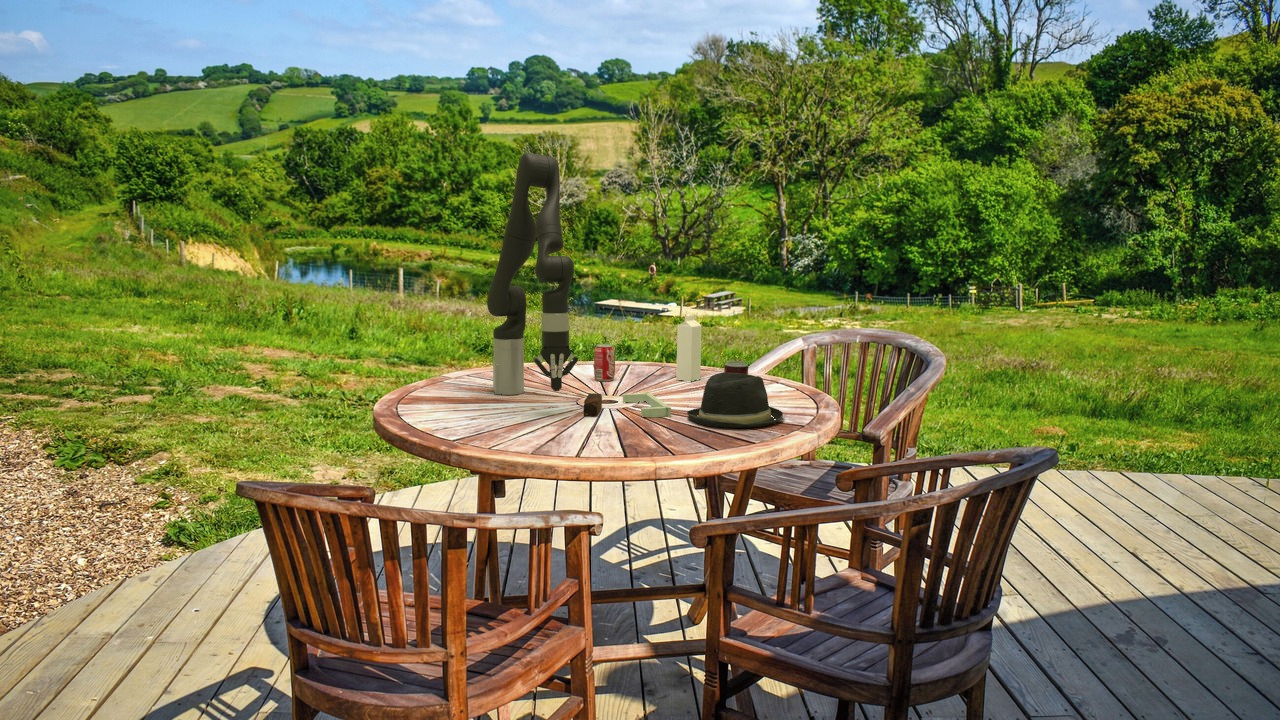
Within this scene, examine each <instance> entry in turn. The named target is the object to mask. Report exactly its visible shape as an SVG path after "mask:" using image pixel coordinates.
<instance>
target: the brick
mask: <svg viewBox="0 0 1280 720" xmlns="http://www.w3.org/2000/svg"><path fill="white" fill-rule="evenodd" d="M602 409H603V394H602V393H596V392H595V393H591V392H590V393H589V394H588V395H586V398H585V399H584V402H583V416H584V417H594V416H596V417H597V416H599V415H600V412H601V411H602ZM600 410H601V411H600Z"/></svg>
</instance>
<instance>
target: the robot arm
mask: <svg viewBox="0 0 1280 720" xmlns="http://www.w3.org/2000/svg"><path fill="white" fill-rule="evenodd" d="M560 180H561V178H560V166H559V162H558V160H557V159H556V158H555V157H554V156H551V155H545V154H539V153H532V152H524V153H523V154H522V156H521V157H520V159H519V162H518V165H517V171H516V177H515V183H514V191H513V197H512V202H511V207H510V211H509V216H508V219H507V222H506V227H505V232H504V235H503V240H502V244H501V250H500V255H499V259H498V262H497V266H496V269H495V272H494V274H493V278H492V281H491V284H490V287H489V290H488V293H487V300H486V304H487V306H486V307H487V310H488V313H489V314H490V315H491V316H493V317H497V318H498V317H506V318H505V319H506V320H504V322H503V323H502V324H500V325H498V326H496V327H495V328H494V329H493V335H492V336H493V360H492V382H493V383H492V389H493V390H494V391H493V393H494V392H495V393H494V394H495V395H501V394H502V396H512V395H520V394H521V395H522V394H523V393H525V364H524V363H525V351H524V350H525V349H524V348H525V347H524V345H525V344H524V343H525V341H524V336H525V335H524V334H525V330H526V324H527V323H526V322H527V321H526V319H527V318H526V317H527V297H526V293H525V290H524V289H523V288H522V287H521V286H520V285H511V283H512V281H513V279H514V277H515V275H516V273H518V271H519V270H520V269H521V268H522V267H523V266H524V264H525V263H526V262H527V261H528V259H530V257H531V256H532V254H533V252H534V248H535V244H536V241H537V258H536V262H535V269H534V273H535V277H536V278H537V279H538V280H539V281H540V282H542V283H556V282H557V283H559V285H558V286H557V287H556V288H554V289H550V290H546V291H544V292H543V293H542V298H541V301H542V303H541V304H542V309H541V310H542V314H541V315H542V316H541V349H540V351H539V352H540V353H539V355H537V356H536V357H534V358H533V359H532V360H533V362H534V364H535V365H536V366H537V367H538V369H540V371H541V372H542V373H543V374H544V375H545V377H550V389H552V391H553V392H560V390H562V386H563V381H562V378H563V377H564V376H568V375H569V373H570V372H571V370H572V369H573V368H574V367H575V366H576V364H577V363H578V362H579V357H578V356H576V355H574V354H572V350H571V348H570V318H569V293H570V288H571V284H572V279H573V277H574V273H575V272H574V271H575V264H574V261H573V259H572V258H571V257H569V256H568V255H552V254H555V253H558V252H560V251H562V250H563V247H564V237H563V230H562V224H561V215H560V208H561V206H560V205H561V204H560V202H561V199H560V198H561V195H560V194H561V187H560V186H561V182H560ZM530 188H541V189H545V193H546V199H545V201H544V203H543V205H542V207H541V209H540V211H539V212H538V215H537V217H536V219H535V217H534V215H533V213H532V211H531V208H530V207H531V206H530V203H529V191H530ZM550 254H551V255H550ZM543 360H544V361H545V363H546V364H547V365H548V369H549V371H548V369H547V368H546V366H544V365H543ZM567 360H568V363H567V364H566V365H565V363H566V362H567ZM564 365H565V367H564Z"/></svg>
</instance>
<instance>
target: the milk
mask: <svg viewBox="0 0 1280 720" xmlns="http://www.w3.org/2000/svg"><path fill="white" fill-rule="evenodd" d="M702 328H703V327H702V324H701V323H699V321H697V320H696V316H695V315H690V316H688V315H687V316H684V321H682V322H681V323H680V324H678V325H677V332H676V334H677V335H676V337H677V338H676V377H675V378H676V379H675V380H676V381H678V380H684V381H693V380H697V379H700V380H701V370H702V369H701V367H702V366H701V365H702V363H701V361H702ZM684 381H683V382H684Z"/></svg>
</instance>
